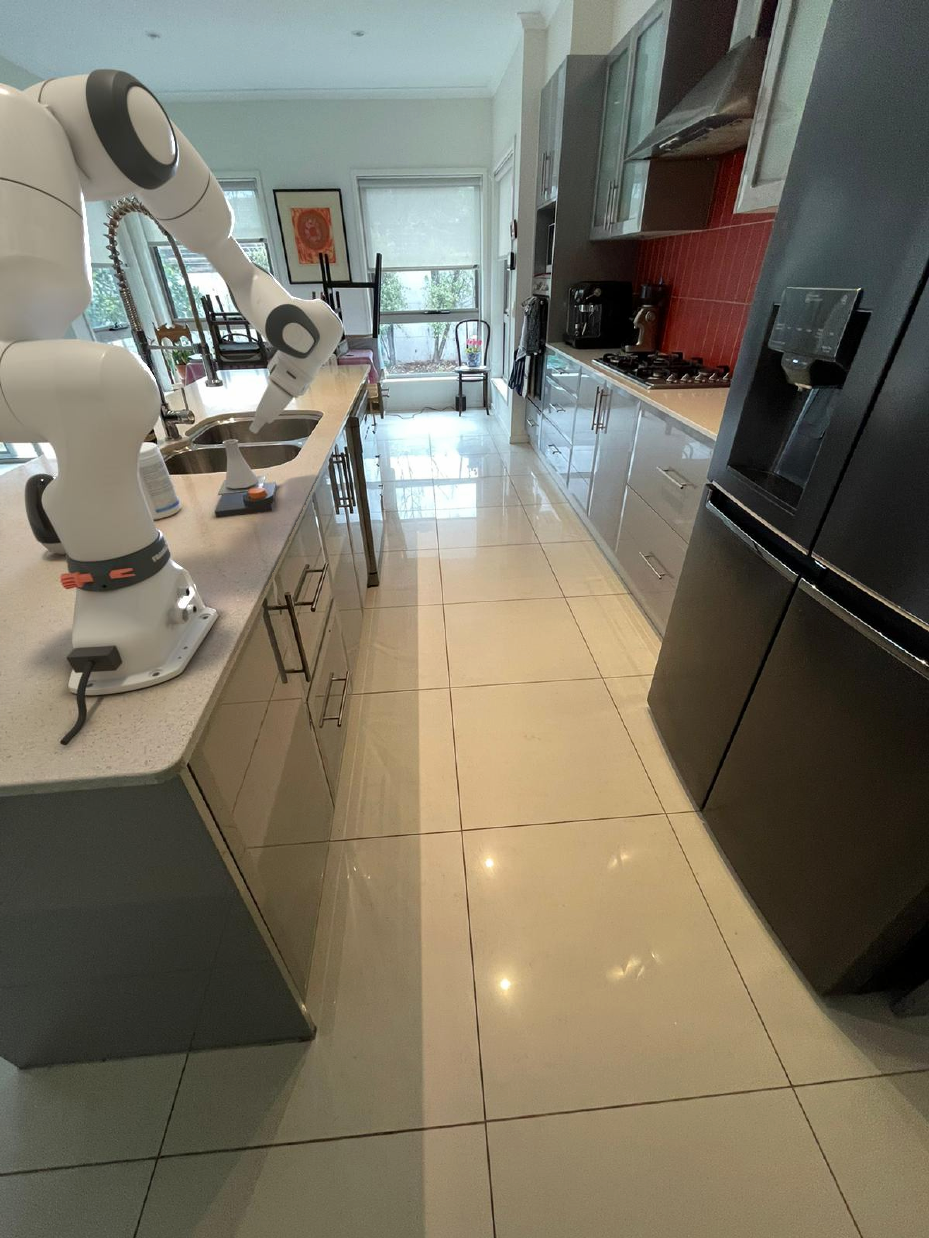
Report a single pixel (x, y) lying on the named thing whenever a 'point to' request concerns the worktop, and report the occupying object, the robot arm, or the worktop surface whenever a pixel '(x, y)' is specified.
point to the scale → (246, 502)
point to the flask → (237, 467)
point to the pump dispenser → (41, 513)
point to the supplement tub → (157, 483)
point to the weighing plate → (228, 490)
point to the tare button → (257, 493)
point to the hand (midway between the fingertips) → (254, 426)
